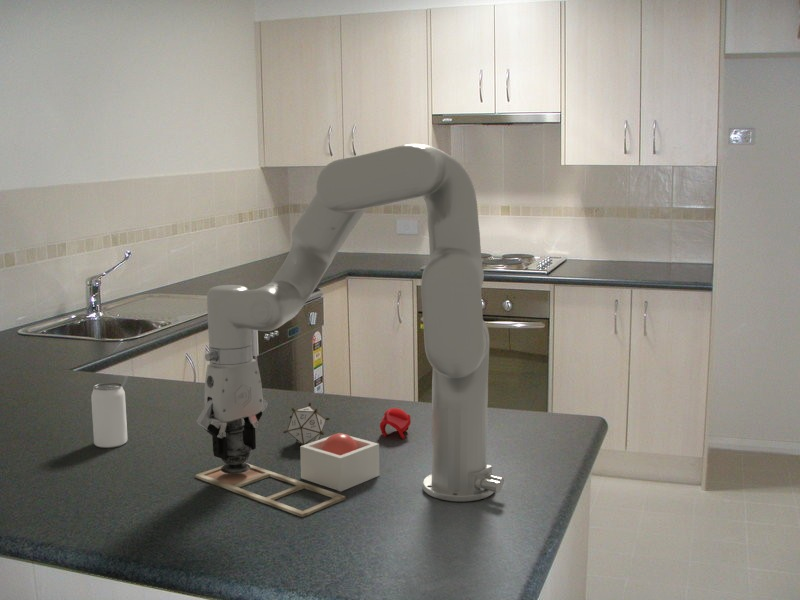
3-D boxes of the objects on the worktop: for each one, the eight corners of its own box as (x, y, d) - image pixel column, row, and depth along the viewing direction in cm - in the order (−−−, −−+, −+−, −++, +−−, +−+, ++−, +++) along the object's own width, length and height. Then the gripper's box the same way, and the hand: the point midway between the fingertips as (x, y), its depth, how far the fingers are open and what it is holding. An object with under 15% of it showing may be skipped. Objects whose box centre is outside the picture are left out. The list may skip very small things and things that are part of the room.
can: (133, 443, 180) (130, 385, 178) (104, 450, 176) (100, 391, 174) (117, 436, 185) (114, 380, 183) (88, 443, 180) (84, 386, 178)
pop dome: (365, 467, 161) (364, 433, 160) (340, 477, 156) (340, 442, 155) (339, 459, 165) (339, 426, 164) (315, 469, 160) (314, 434, 159)
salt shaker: (258, 466, 162) (256, 402, 160) (236, 476, 157) (233, 410, 155) (234, 460, 165) (232, 398, 163) (212, 470, 160) (209, 405, 158)
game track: (345, 499, 151) (345, 496, 150) (302, 517, 143) (302, 514, 143) (238, 462, 168) (238, 460, 168) (195, 477, 161) (195, 474, 161)
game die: (305, 458, 182) (312, 412, 186) (334, 452, 176) (340, 405, 181) (271, 445, 176) (279, 398, 181) (299, 439, 171) (307, 390, 175)
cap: (404, 428, 179) (417, 407, 183) (377, 416, 180) (391, 395, 184) (401, 450, 185) (414, 429, 188) (376, 438, 186) (389, 418, 190)
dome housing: (379, 475, 161) (379, 443, 160) (340, 491, 154) (340, 458, 153) (339, 463, 168) (339, 432, 167) (301, 478, 160) (300, 446, 159)
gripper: (204, 367, 149) (209, 470, 152) (281, 349, 162) (284, 444, 165) (177, 360, 154) (182, 460, 157) (254, 344, 167) (257, 437, 170)
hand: (234, 451), depth 161 cm, fingers closed on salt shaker, 5 cm apart
